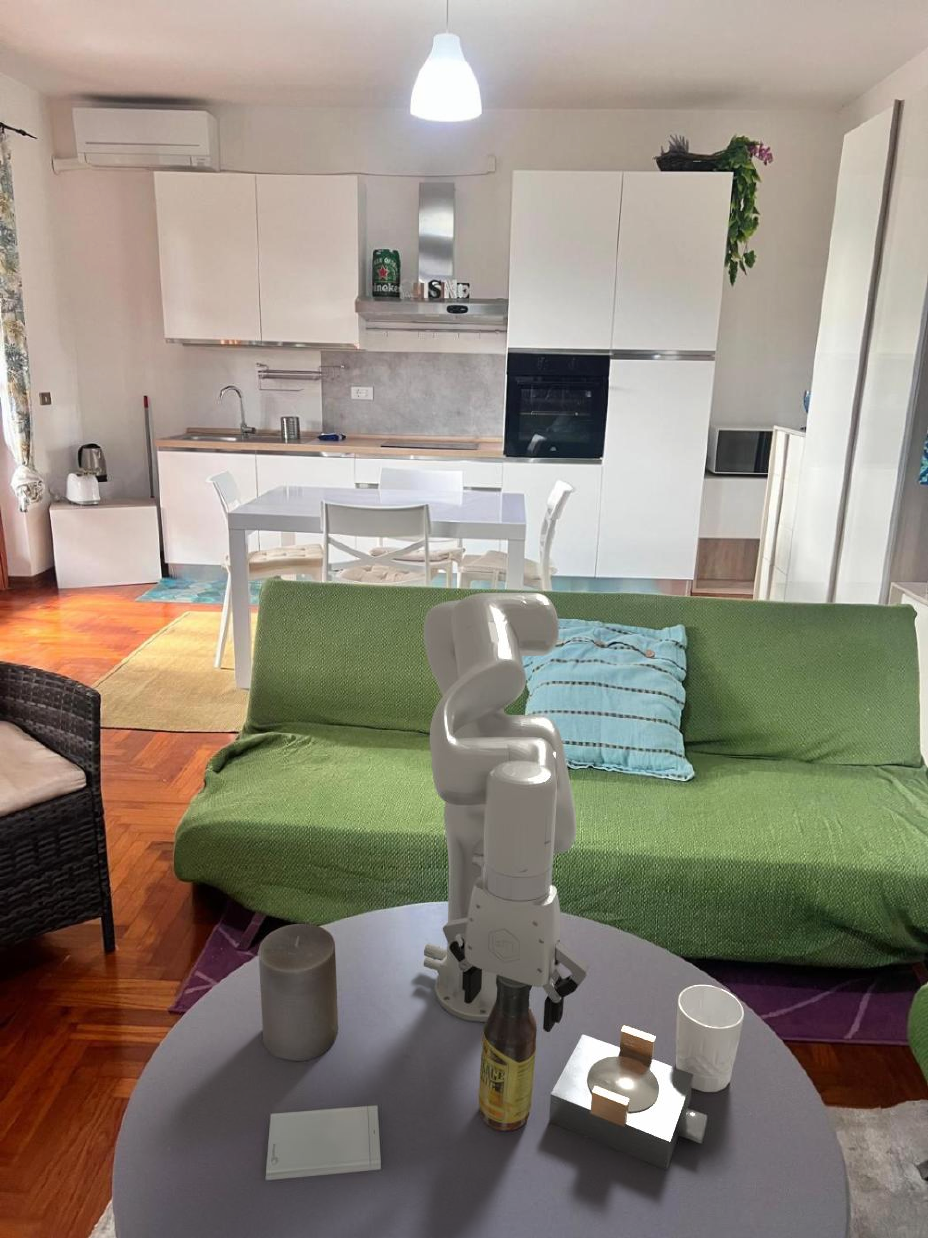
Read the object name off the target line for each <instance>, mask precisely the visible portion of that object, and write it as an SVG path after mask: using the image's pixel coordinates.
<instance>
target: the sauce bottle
mask: <svg viewBox="0 0 928 1238" xmlns="http://www.w3.org/2000/svg"><path fill="white" fill-rule="evenodd" d="M496 985H497V997H496V1002H495V1004H494V1007H493V1009H492V1011H491V1013H490V1015H489V1017H488V1019H487V1021H485V1024H484V1026H483V1029H482V1038H481V1039H482V1042H481V1055H480V1056H481V1057H480V1068H479V1083H478V1085H479V1087H478V1105H479V1106H478V1107H479V1113H480V1116H481V1119H482V1120H483V1121H484V1122H485V1123H486V1124H487V1125H489V1127H492V1128H493V1129H494V1130H496V1131H500V1132H503V1131H514V1130H517V1129H519V1128H520V1127H522V1126H523V1125H524V1124H525V1122H526V1121H527V1120H528V1118H529V1116H530V1112H531V1111H530V1110H531V1107H532V1106H531V1105H532V1098H533V1097H532V1095H533V1087H534V1077H535V1076H534V1074H535V1062H536V1054H537V1053H536V1051H537V1041H536V1039H537V1034H538V1033H537V1031H538V1029H537V1026H538V1024H537V1021H536V1019H535V1015H534V1013H533V1012H532V1009H531V1008H530V995H531V994H530V993H531V991H532V987H533V986H530V985H527V984H524V983H521V982H518V981H515V980H512V979H509V978H506V977H503V976H500V975H497V977H496Z"/></svg>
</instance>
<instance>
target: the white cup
mask: <svg viewBox="0 0 928 1238" xmlns="http://www.w3.org/2000/svg"><path fill="white" fill-rule="evenodd" d="M744 1010H745V1009H744V1008H743V1005H742V1004H741V1002H740V1000H739V999H737V997H735V996H734V995H733V994H732V993H730V992H729V991H726V990H725V989H722V988H721V987H717V986H713V985H708V984H697V985H696V984H695V985H691V986H689V987H686V988H684V989H683V990H682V991H681V992H680V993H679V995H678V998H677V1012H676V1013H677V1015H676V1029H675V1032H676V1034H675V1052H676V1055H675V1068H677V1069H680V1070H683V1071H685V1072H688V1073H691V1074H693V1081H692V1089H695V1090H697V1091H701V1092H704V1093H717V1092H719V1091H721V1090H722V1091H723V1089H726V1088H727V1086H728V1084H729V1083H730V1081H731V1078H732V1072H733V1068H734V1063H735V1061H736V1057H737V1052H738V1048H739V1042H740V1039H741V1038H740V1036H741V1031H742V1026H743V1021H744V1016H745V1013H744V1012H745V1011H744Z"/></svg>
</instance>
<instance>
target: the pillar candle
mask: <svg viewBox="0 0 928 1238" xmlns="http://www.w3.org/2000/svg"><path fill="white" fill-rule="evenodd" d="M257 956H258V965H259V984H260V985H259V986H260V999H261V1000H260V1002H261V1003H260V1004H261V1017H262V1018H261V1019H262V1021H261V1022H262V1039H263V1040H262V1041H263V1044H264V1047H265V1049H266V1050H267V1052H268V1053H269V1054H270V1055H272V1056H273V1057H275V1058H277V1059H282V1060H288V1061H294V1062H296V1061H297V1062H304V1061H309V1060H312V1059H314V1058H317V1057H319V1056H321V1055H323V1054H324V1053H326V1052H327V1051H328V1050H329V1049H330V1048H331V1047H332V1046H333V1045H334V1044H335V1041H336V1040H337V1037H338V1034H339V1016H338V1015H339V1013H338V1012H339V1011H338V989H337V988H338V987H337V986H338V985H337V960H336V959H337V958H336V942H335V939H334V937H333V935H332V934H331V932H329V931H328V930H326V929H325V928H323V927H321V926H318V925H315V924H308V923H295V924H288V925H284V926H281V927H279V928H277V929H275V930H273V931H271V932H270V933H269V934H267V935H266V936H265V937H264V938H263V939H262V941H261V943H260V944H259V947H258V951H257Z"/></svg>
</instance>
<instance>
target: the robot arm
mask: <svg viewBox="0 0 928 1238" xmlns="http://www.w3.org/2000/svg"><path fill="white" fill-rule="evenodd" d="M559 623H560V621H559V618H558V613H557V610H556V608H555V605H554V604H553V602H552V601H551V599H549V597H547V596H546V595H545V594H542V593H537V592H481V593H475V594H471V595H467V596H466V597H463V598H462V599H460V600H450V601H444V602H442V603H438V604H437V605H434V606H432V607H431V608H430V609H429V610H428V611H427V613H426V615H425V617H424V622H423V643H424V647H425V653H426V658H427V661H428V664H429V667H430V670H431V673H432V675H433V677H434V680H435V682H436V684H437V686H438V689H439V691H440V693H441V695H442V697H441V698H440V700H439V702H438V703H437V705H436V707H435V710H434V712H433V715H432V717H431V723H430V727H429V746H430V756H431V758H430V759H431V770H432V779H433V782H434V788H435V792H436V793H437V795H438V796H439V798H440V799H441V800H443V802H445V804H444V808H443V825H444V831H445V837H446V847H447V855H448V905H447V907H448V908H447V909H448V910H447V922H446V924H445V925H443V927H442V932H443V935H444V936H445V939H446V945H447V946H446V948H443V947H441V946H440V945H436V944H434V943H430V942H427V943H426V945H425V947H424V950H423V955H424V957H425V959H424V960H423V967H425V968H427V969H431V970H435V971H436V972H437V975H436V979H435V983H434V992H435V993H434V994H435V997H436V1000H437V1001H438V1004H440V1006H441V1007H442V1008H443V1009H445V1010H446V1011H447V1012H448V1013H450V1014H452V1015H453V1016H455V1017H458V1018H459V1019H462V1020H466V1021H470V1022H479V1023H481V1022H483V1023H484V1022H485V1023H486V1022H487V1019H488V1017H489V1015H490V1013H491V1011H492V1009H493V1007H494V1004H495V1002H496V997H497V985H496V977H497V975H500V976H503V977H506V978H509V979H512V980H515V981H518V982H521V983H524V984H527V985H530V986H532V987H534V988H541V987H542V988H543V990H544V991H545V993H546V995H547V997H546V998H545V999H544V1004H543V1020H542V1021H543V1025H542V1029H543V1030H544V1032H547V1033H550V1032H551V1030H552V1029H553V1027H554V1026H555V1024H559V1023H560V1022H561V1020H562V1018H563V1013H564V1003H565V1002H564V1000H565V997H567V996H569V995H571V994H573V993H575V992H576V990H577V989H578V987H580V985H581V984H582V982H584V980H585V978H586V977H587V976H588V974H589V972H590V970H591V967H590V965H589V964H588V963H587V962H585V961H584V960H583V959H582V958H580V957H579V956H578V955H577V954H576V953H575V952H573V951H572V950H571V949H569V948H568V947H567V946H566V945H565V944H563V943H562V942H563V941H562V940H563V939H562V938H563V937H562V936H563V935H562V933H563V932H562V917H561V916H562V915H561V906H560V901H559V896H558V895H559V894H558V891H557V890H558V889H557V887H556V886H555V885H552V883H553V864H554V855H559V854H563V853H565V852H567V851H569V850H570V849H571V848H572V846H573V845H574V843H575V841H576V837H577V819H576V818H577V817H576V816H577V815H576V809H575V803H574V797H573V792H572V786H571V783H570V782H571V780H570V775H569V771H568V770H569V769H568V765H567V758H566V755H565V749H564V744H563V739H562V736H561V733H560V731H559V728H558V727H557V725H556V724H555V722H554V721H553V720H552V719H550V718H549V717H547V716H544V715H540V714H539V715H538V714H507V713H506V712H505V710H504V708H506V707H508V706H509V705H511V704H512V703H514V702H515V701H516V700H517V699H518V698H519V697H520V696H521V694H523V692H524V690H525V687H526V684H527V674H526V670H525V665H524V661H523V658H524V657H537V656H538V657H540V656H545V655H549V654H550V653H551V652H552V651H554V649H555V648H556V646H557V643H558V639H559V634H560V626H559ZM560 964H561V965H562V966H564V967H565V968H566V969H567V970H569V971H570V973H571V974H569V975H568V976H567V977H565V974H564V973H563V971H561V969H560V968H559V966H560Z"/></svg>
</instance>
